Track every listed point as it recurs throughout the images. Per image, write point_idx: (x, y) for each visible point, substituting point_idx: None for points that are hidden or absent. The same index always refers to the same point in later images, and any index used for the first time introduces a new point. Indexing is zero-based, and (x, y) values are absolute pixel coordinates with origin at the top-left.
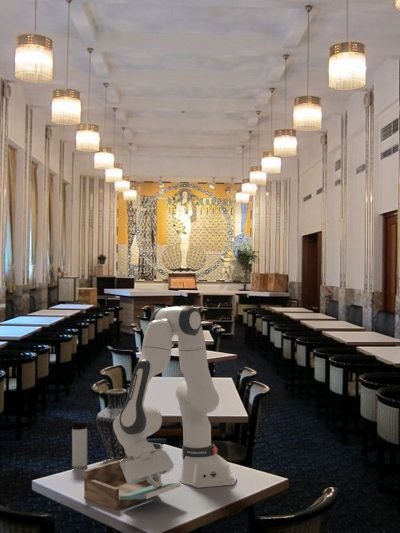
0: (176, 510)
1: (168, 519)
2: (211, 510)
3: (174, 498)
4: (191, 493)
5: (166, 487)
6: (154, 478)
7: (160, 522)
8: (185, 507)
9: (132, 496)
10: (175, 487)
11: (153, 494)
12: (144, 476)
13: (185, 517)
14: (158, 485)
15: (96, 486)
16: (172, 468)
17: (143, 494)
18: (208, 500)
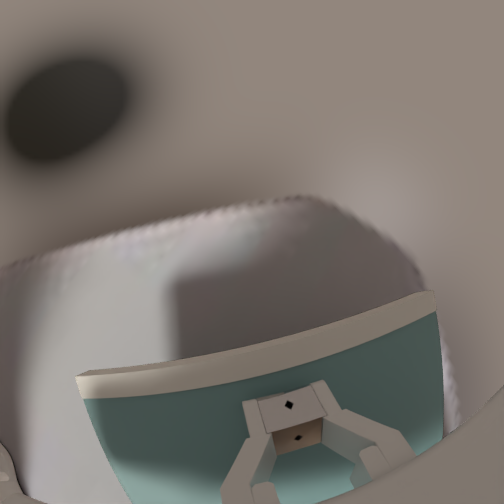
0: (193, 336)
1: (285, 265)
2: (88, 243)
3: None
4: (40, 442)
5: (229, 355)
6: None
7: (329, 257)
8: (137, 339)
9: (440, 417)
10: (133, 367)
11: (373, 310)
12: (481, 408)
13: (209, 242)
14: (303, 388)
15: None
16: (30, 501)
17: (427, 343)
18: (33, 333)
